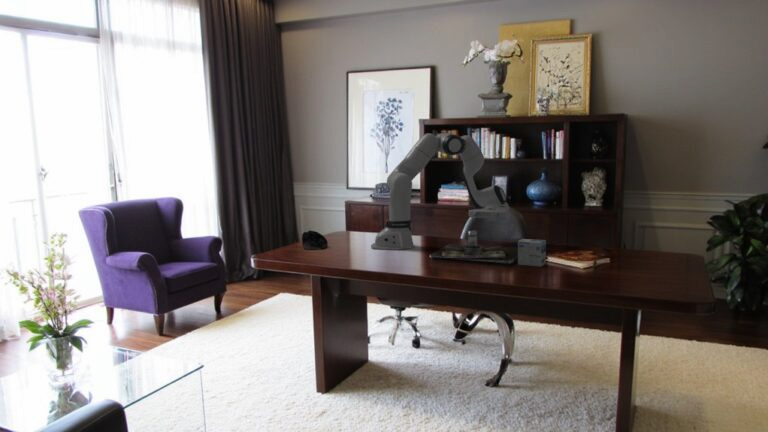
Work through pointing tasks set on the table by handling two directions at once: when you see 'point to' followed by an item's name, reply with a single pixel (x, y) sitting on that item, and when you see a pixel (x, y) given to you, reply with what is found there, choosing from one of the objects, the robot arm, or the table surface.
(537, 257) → the light bulb box
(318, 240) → the crystal cluster
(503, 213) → the robot arm
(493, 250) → the shaft frame
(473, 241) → the coupling sleeve
